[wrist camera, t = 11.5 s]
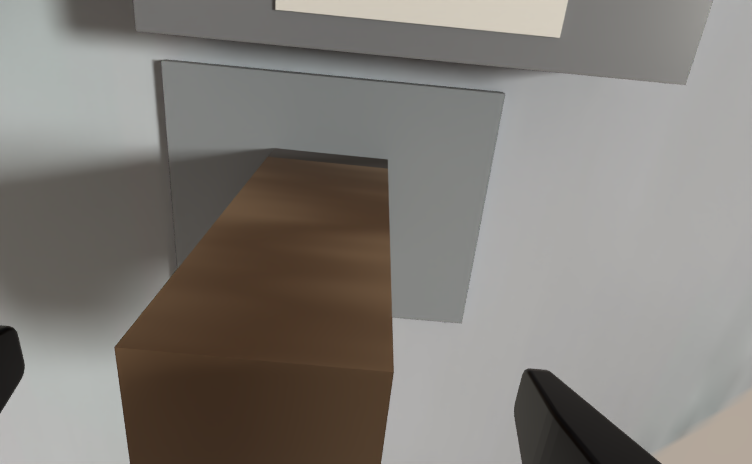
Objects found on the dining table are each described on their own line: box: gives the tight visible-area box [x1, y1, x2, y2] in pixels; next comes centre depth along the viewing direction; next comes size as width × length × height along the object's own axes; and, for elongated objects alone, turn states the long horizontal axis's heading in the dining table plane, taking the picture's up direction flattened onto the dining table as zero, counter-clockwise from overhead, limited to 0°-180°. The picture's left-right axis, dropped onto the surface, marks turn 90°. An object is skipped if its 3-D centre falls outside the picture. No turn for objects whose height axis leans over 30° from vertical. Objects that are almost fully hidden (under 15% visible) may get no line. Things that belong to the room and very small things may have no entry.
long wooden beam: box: [114, 148, 394, 464], centre depth 12 cm, size 4×4×10 cm
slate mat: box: [161, 60, 505, 323], centre depth 16 cm, size 10×8×1 cm
